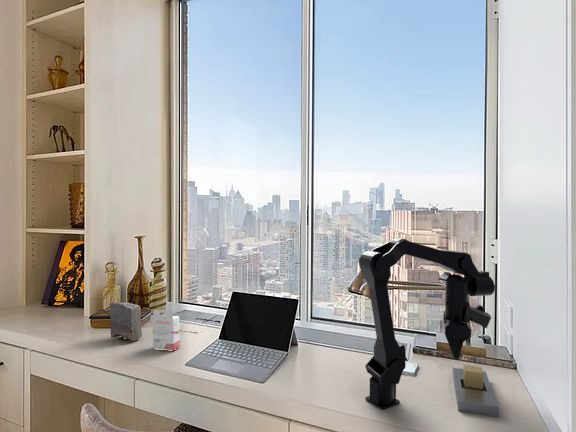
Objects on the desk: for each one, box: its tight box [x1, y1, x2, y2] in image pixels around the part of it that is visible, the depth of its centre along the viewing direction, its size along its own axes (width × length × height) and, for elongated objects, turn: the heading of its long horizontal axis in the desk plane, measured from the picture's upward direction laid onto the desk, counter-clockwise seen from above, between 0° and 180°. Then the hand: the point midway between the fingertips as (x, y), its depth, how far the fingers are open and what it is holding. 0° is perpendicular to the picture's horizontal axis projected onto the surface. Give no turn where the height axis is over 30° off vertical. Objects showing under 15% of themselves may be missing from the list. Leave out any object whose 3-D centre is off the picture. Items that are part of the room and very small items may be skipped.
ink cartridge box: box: [152, 309, 181, 351], centre depth 142 cm, size 9×5×15 cm, turn 76°
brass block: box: [462, 364, 484, 391], centre depth 106 cm, size 4×4×7 cm
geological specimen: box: [109, 301, 143, 342], centre depth 152 cm, size 11×6×15 cm, turn 67°
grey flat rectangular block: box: [452, 367, 500, 418], centre depth 106 cm, size 22×9×2 cm, turn 161°
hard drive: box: [402, 361, 420, 377], centre depth 125 cm, size 2×8×12 cm
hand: (455, 353), depth 108 cm, fingers open, 9 cm apart
